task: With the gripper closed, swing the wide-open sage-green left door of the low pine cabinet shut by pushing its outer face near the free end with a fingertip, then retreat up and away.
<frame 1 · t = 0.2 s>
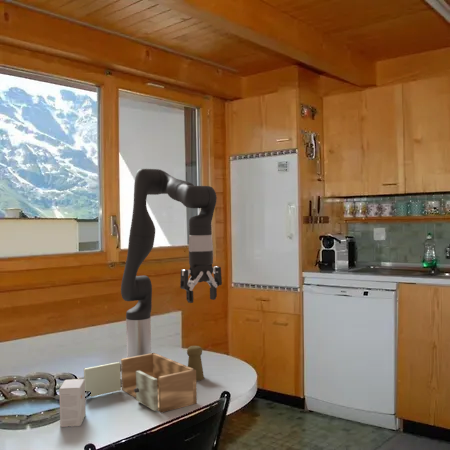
hand: (201, 301, 167), 29 cm above the table, fingers open, 8 cm apart
door: (103, 378, 167), point 5 cm above the table, hinge at 90.0°
cabinet: (157, 396, 165), on the table
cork: (195, 378, 183), on the table
small box: (73, 422, 146), on the table
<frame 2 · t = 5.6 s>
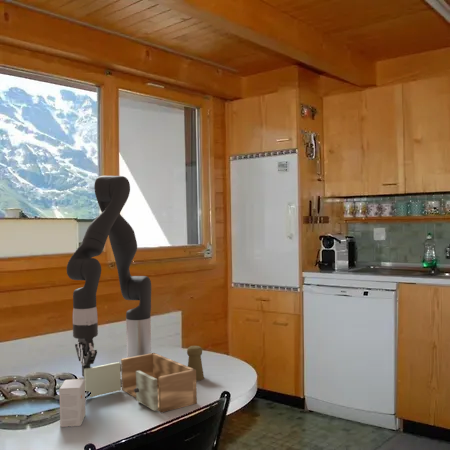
hand: (86, 376, 167), 6 cm above the table, fingers closed
door: (103, 379, 167), point 5 cm above the table, hinge at 88.8°, touching gripper
everything else where it was.
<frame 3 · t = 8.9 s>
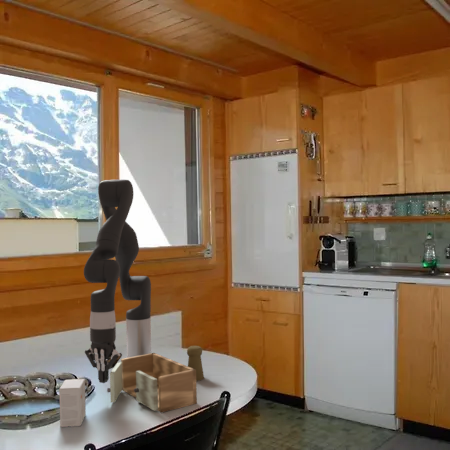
hand: (103, 382, 161), 6 cm above the table, fingers closed
door: (115, 381, 165), point 5 cm above the table, hinge at 36.1°, touching gripper
everything else where it was.
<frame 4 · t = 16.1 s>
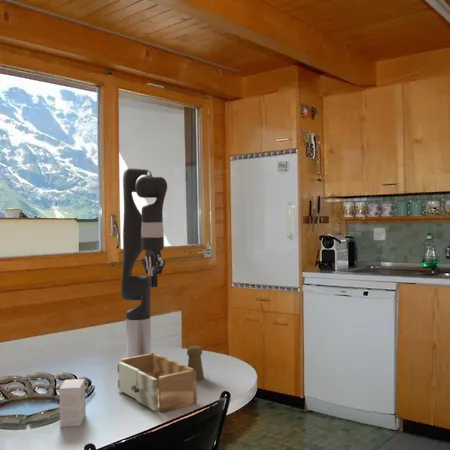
hand: (153, 287, 180), 32 cm above the table, fingers closed
door: (127, 380, 166), point 5 cm above the table, hinge at -1.8°
everything else where it was.
at the end: door at -2° (first picture: +90°) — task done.
